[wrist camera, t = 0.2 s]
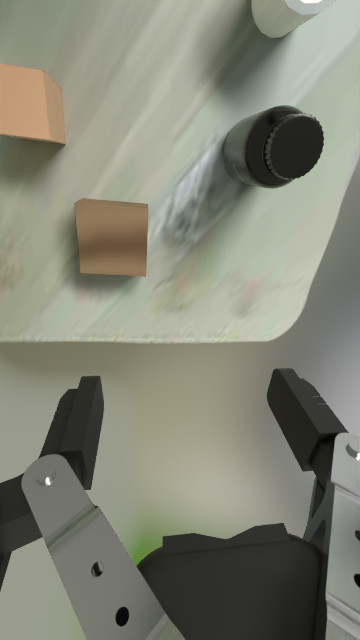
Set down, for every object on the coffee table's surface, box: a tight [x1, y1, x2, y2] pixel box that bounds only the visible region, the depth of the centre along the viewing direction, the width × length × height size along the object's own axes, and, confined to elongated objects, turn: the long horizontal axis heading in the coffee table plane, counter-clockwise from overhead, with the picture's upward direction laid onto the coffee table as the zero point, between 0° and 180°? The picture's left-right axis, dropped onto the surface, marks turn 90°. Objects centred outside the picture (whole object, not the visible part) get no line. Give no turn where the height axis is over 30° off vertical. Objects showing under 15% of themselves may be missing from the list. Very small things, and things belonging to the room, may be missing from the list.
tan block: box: [0, 64, 66, 144], centre depth 26 cm, size 5×5×6 cm
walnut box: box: [74, 198, 148, 276], centre depth 34 cm, size 8×8×5 cm
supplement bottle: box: [223, 105, 324, 188], centre depth 28 cm, size 7×7×12 cm
